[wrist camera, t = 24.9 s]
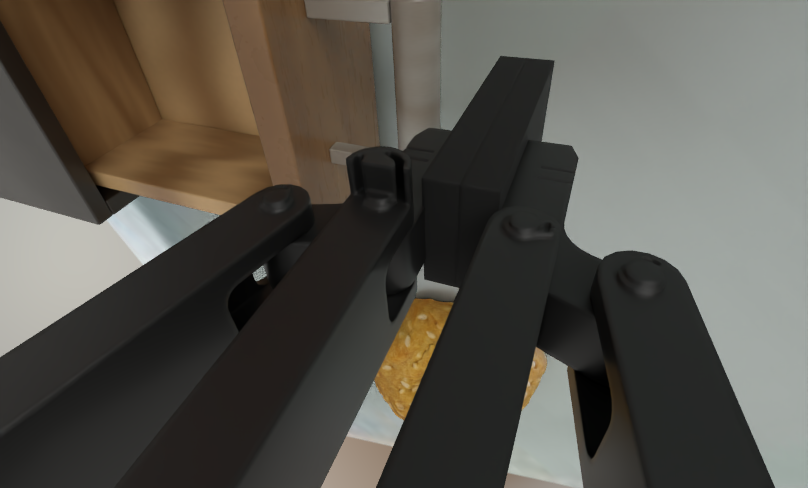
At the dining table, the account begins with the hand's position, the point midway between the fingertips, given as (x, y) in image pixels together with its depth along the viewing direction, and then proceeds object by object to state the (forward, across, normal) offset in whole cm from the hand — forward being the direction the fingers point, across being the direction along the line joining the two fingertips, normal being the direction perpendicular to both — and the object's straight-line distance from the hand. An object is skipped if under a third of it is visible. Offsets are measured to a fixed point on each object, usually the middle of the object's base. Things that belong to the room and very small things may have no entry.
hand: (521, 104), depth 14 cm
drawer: (+4, -11, 0) cm, 11 cm away
